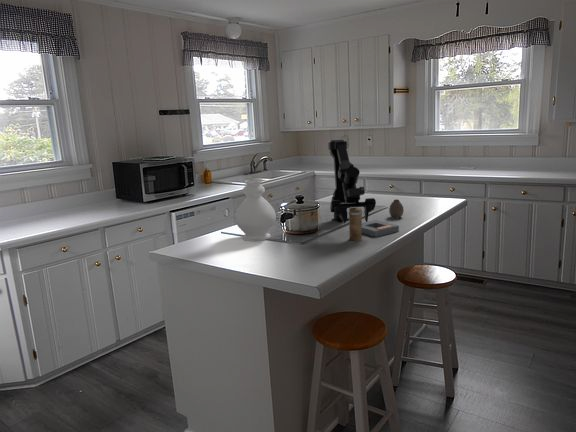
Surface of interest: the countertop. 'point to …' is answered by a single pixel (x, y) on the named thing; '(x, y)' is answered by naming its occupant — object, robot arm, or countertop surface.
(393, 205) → the vase
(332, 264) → the countertop surface
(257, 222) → the decorative vase
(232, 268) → the countertop surface
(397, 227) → the socket block
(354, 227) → the walnut peg
